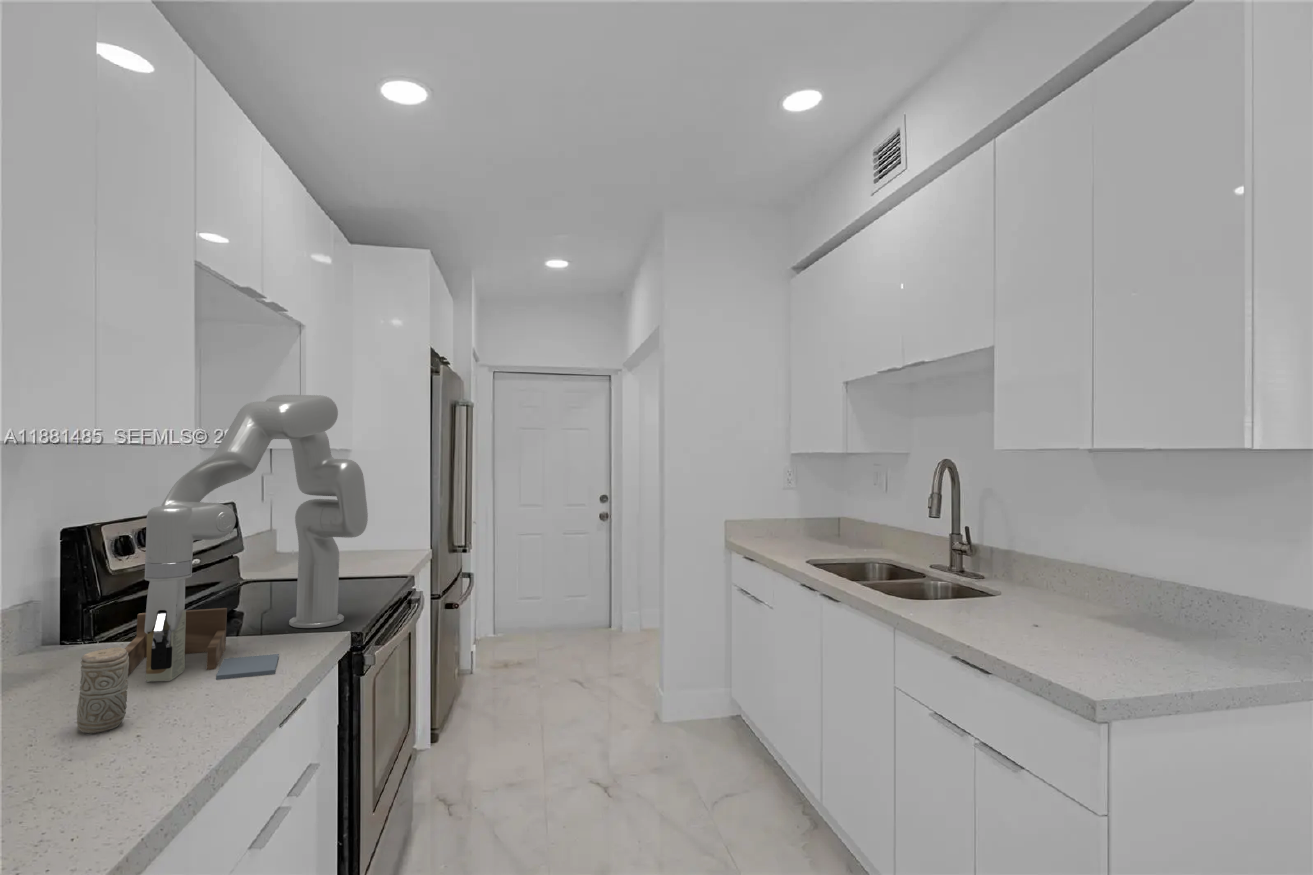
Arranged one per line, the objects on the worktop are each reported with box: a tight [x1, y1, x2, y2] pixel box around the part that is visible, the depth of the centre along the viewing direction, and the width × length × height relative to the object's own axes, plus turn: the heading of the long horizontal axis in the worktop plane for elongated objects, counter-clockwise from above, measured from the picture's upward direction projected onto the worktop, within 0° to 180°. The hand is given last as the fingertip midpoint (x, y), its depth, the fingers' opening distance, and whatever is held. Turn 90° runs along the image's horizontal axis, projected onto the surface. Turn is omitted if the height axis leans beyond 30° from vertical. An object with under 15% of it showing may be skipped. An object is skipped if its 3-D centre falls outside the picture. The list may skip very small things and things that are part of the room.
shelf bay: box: [124, 607, 228, 677], centre depth 145 cm, size 16×16×9 cm
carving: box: [76, 646, 129, 734], centre depth 112 cm, size 6×8×12 cm
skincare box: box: [145, 609, 186, 682], centre depth 136 cm, size 6×4×12 cm
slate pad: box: [215, 653, 280, 681], centre depth 143 cm, size 12×10×1 cm
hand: (165, 662), depth 136 cm, fingers closed on skincare box, 6 cm apart
